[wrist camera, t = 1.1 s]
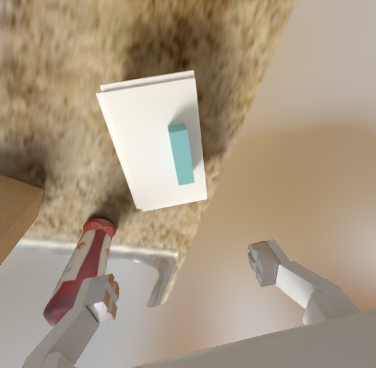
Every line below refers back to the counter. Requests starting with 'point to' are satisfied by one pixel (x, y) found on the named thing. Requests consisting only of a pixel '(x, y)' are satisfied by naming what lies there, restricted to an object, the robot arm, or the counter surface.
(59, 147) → the counter surface
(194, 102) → the lid
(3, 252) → the sandwich container
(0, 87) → the counter surface
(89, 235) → the liquor
